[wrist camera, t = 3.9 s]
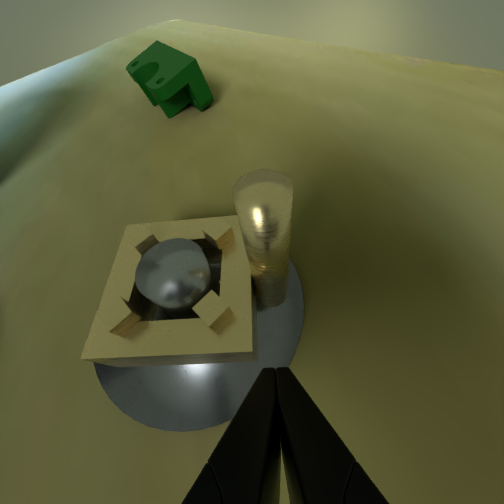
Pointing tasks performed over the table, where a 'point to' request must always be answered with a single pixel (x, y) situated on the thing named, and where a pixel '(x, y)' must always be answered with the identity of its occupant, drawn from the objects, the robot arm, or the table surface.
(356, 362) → the table surface
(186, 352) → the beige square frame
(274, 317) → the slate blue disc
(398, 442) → the table surface
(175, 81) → the green mounting bracket
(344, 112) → the table surface
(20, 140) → the table surface
